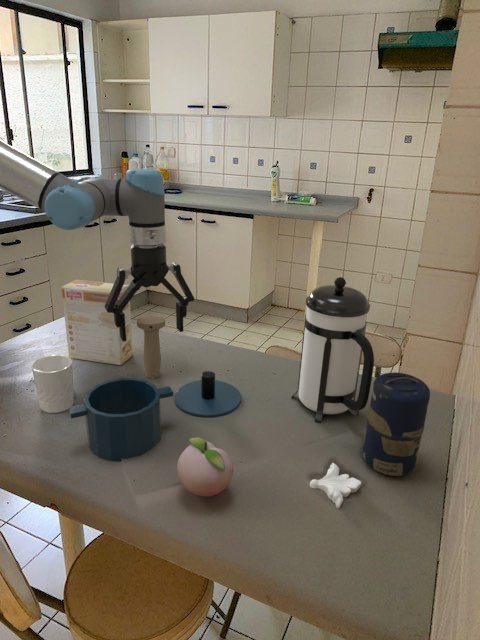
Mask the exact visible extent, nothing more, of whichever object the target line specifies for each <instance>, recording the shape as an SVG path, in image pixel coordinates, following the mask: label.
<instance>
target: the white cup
mask: <svg viewBox="0 0 480 640" xmlns="http://www.w3.org/2000/svg"><path fill="white" fill-rule="evenodd" d="M73 363H74V362H73V358H69V356H67V355H61V354H52V355H47V356H43V357H40V358H38V359H36V360H35V361H34V362H32V364H31V371H32V376H33V381H34V386H35V391H36V394H37V397H38V401H39V402H38V403H39V406H40V409H41V410H42V411H43V412H45V413H48V414H59V413H63V412H65V411H67V410H69V407H72V406H74V405H75V397H74V391H75V388H74V387H75V383H74V367H73Z"/></svg>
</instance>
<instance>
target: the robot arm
mask: <svg viewBox="0 0 480 640" xmlns="http://www.w3.org/2000/svg"><path fill="white" fill-rule="evenodd" d="M0 189H2V190H3V191H5V192H6V193H9V194H11V195H13V196H14V197H16V198H18V199H20V200H21V201H24V202H26V203H28V204H30V205H31V206H34V207H35V208H37V209H39V210H41V211H43V212H44V213H45V215H46V217H47V218H48V220H49V221H50V222H51V223H52V224H53V225H54V226H55V227H57V228H59V229H62V230H65V231H73V230H77V229H81V228H84V227H87V226H88V225H89V224H91V223H92V222H93V221H96V220H98V219H100V218H102V217H108V216H110V217H111V216H112V217H128V227H129V243H130V244H131V246H130V259H131V262H130V263H131V266H130V268H122V267H119V266H118V268H117V269H116V279H115V280H114V283H113V284H114V285H113V287H112V290H111V292H110V295H109V297H108V299H107V302H106V304H105V309H106V311H107V312H108V313H114V323H115V325H116V327H119V328H120V338H121V339H122V341H123V342H124V341H126V328H125V314H124V313H123V311H122V310H123V309H124V308H125V306H126V305H127V304H128V302H129V301H130V302H131V301H132V298H133V297H134V296H135V294H136V293H137V292H138V291H139V290H140V289H141V288H142V287H143V288H149V287H159V285H163V286H164V287H165V289H167V291H168V292H170V293H171V294H172V295H173V296H174V298H176V300H177V301H178V302H175V320H176V321H175V322H176V324H175V325H176V330H178V332H179V333H183V332H184V318H186V317H187V316H188V313H187V311H188V310H187V308H188V307H187V306H189V303H190V302H194V301H195V297H194V295H193V293H192V291H191V288H190V287H189V285H188V283H187V281H186V279H185V277H184V276H183V274H182V269H181V264H179V263H178V262H176V261H173V262H172V263H171V264H167V246H166V245H165V243H167V242H166V240H167V239H166V211H165V210H166V209H165V207H166V206H165V205H166V204H165V199H166V198H165V194H166V192H165V187H164V175H163V173H162V172H161V171H159V170H158V169H151V168H131V169H128V170H127V171H126V173H125V178H103V177H102V178H99V177H90V176H85V177H73V178H69V177H68V176H66V175H64V174H62V173H60V172H59V171H57V170H55V169H53V168H52V167H50V166H48V165H47V164H45V163H43V162H41V161H39V160H38V159H35V158H33V157H32V156H30V155H28V154H27V153H24V152H23V151H21V150H19V149H17V148H15V147H14V146H12V145H10V144H8V143H7V142H4V141H3V140H0ZM169 272H170V273H171V274H172V275H173V276H174V278H175V279H176V281H177V283H178V285H179V287H180V289H181V290H182V292H183V294H184V296H182V294H181V293H180V292H179V291H178V290H177V289H176V288H175V287H174V286H173V285H172V284H171V283H170V282H169V280H167V279H166V276H167V274H168V273H169ZM129 276H131V277H132V280H131V281H130V283H129V284H128V285H129V287H128V288H127V289H126V291H125V292H124V293H123V295H122V296H121V297H120V299H119V300H118V301H117V299H118V297H119V294H120V292H121V290H122V287H123V285H125V281H126V280H127V279H128V278H129ZM116 301H117V303H116Z"/></svg>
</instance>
